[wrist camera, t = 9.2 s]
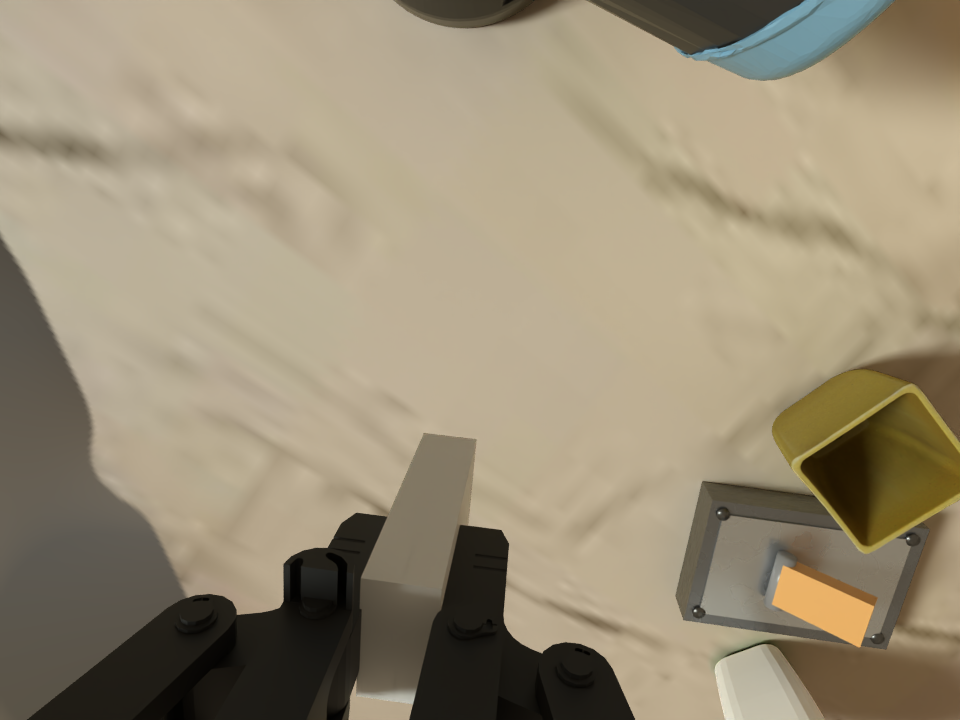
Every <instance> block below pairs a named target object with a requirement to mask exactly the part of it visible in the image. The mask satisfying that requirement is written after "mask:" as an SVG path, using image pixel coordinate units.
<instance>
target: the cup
mask: <svg viewBox="0 0 960 720" xmlns="http://www.w3.org/2000/svg"><path fill="white" fill-rule="evenodd" d="M715 674H716V680H717V685H718V691H719V695H720V700H721V704H722V709H723V713H724V717H725V720H825V718H824V716H823V715H822V713H821V711H820V710H819V708H818V706H817V705H816V703H815V701H814V699H813V698H812V696H811V695H810V693H809V692H808V690H807V689H806V687H805V686H804V684H803V683H802V681H801V680H800V678H799V677H798V675H797V674H796V672H795V671H794V669H793V668H792V666H791V665H790V664H789V662H788V661H787V659H786V658H785V657H784V655H783V654H782V653H781V651H780V650H779V649H778V648H777V647H775V646H773V645H769V644H763V645H758V646H755V647H752V648H750V649H747V650H744V651H741V652H739V653H736V654H733V655H730V656H728V657H725V658H723V659H721V660H720V661H719V662H718V663H717V664H716V667H715Z"/></svg>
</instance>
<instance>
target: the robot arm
mask: <svg viewBox="0 0 960 720" xmlns="http://www.w3.org/2000/svg"><path fill="white" fill-rule="evenodd" d="M394 1H395V2H396V3H398V4H399V5H400V6H401V7H403V8H404V9H405V10H407V11H408V12H410V13H412V14H413V15H415V16H417V17H419V18H421V19H423V20H426V21H428V22H431V23H434V24H438V25H442V26H447V27H454V28H473V27H480V26H485V25H489V24H493V23H496V22H499V21H502V20H504V19H506V18H508V17H510V16H512V15H514V14H516V13H518V12H519V11H521V10H522V9H524V8H525V7H527V6H528V5H529V4H531V3H532V2H533V1H534V0H394ZM587 1H589V2H591V3H593V4H594V5H596V6H598V7H600V8H602V9H604V10H606V11H608V12H610V13H612V14H613V15H615V16H617V17H619V18H621V19H623V20H625V21H627V22H629V23H631V24H633V25H634V26H636V27H638V28H640V29H642V30H644V31H646V32H648V33H650V34H652V35H653V36H655V37H657V38H659V39H661V40H663V41H665V42H667V43H669V44H671V45H672V46H674V48H675V49H676V50H677V52H679V53H680V54H681V55H683V56H685V57H686V58H689V57H691V58H692V59H694V60H699V61H708V62H710V63H712V64H715V65H717V66H719V67H721V68H723V69H726V70H728V71H730V72H732V73H735V74H737V75H739V76H741V77H743V78H747V79H752V80H761V81H766V80H777V79H781V78H784V77H788V76H791V75H793V74H796V73H798V72H801V71H803V70H805V69H807V68H809V67H811V66H813V65H815V64H816V63H818V62H820V61H821V60H823V59H824V58H826V57H828V56H829V55H831V54H832V53H833V52H835V51H836V50H838V49H839V48H840V47H842V46H843V45H844V44H846V43H847V42H848V41H850V40H851V39H852V38H853V37H855V36H856V35H857V34H858V33H860V32H861V31H862V30H863V29H865V28H866V27H867V26H868V25H869V24H870V23H871V22H873V21H874V20H875V19H876V18H877V17H878V16H879V15H880V14H882V13H883V12H884V11H885V10H886V9H887V8H888V7H889V6H890V5H891V4H892V3H893V2H894V1H895V0H587ZM475 449H476V439H469V438H461V437H452V436H444V435H436V434H428V433H424V435H423V437H422V439H421V441H420V444H419V446H418V448H417V451H416V453H415V455H414V457H413V460H412V462H411V464H410V467H409V469H408V471H407V473H406V476H405V478H404V480H403V483H402V485H401V487H400V489H399V492H398V494H397V496H396V499H395V501H394V503H393V505H392V508H391V510H390V512H389V515H388V517H385V516H377V515H370V514H362V513H355V514H354V515H352V516H351V517H350V518H348V519H347V520H345V521H344V522H343V523H341V525H340V527H339V528H338V530H337V532H336V534H335V536H334V539H332V541H331V543H330V545H329V546H328V548H313V549H309V550H304V551H301V552H299V553H297V554H295V555H293V556H291V557H290V558H289V559H288V560H287V561H286V562H285V563H284V602H283V603H282V605H281V607H280V608H278V609H275V610H273V611H268V612H262V613H253V614H243V615H237V612H236V608H235V606H234V604H233V602H232V601H230V600H228V599H227V598H225V597H223V596H218V595H212V594H206V595H195V596H192V597H189V598H186V599H183V600H180V601H178V602H177V603H175V604H173V605H172V606H170V607H168V608H167V609H166V610H164V611H163V612H162V613H161V614H159V615H158V616H157V617H156V618H154V619H153V620H152V621H151V622H149V623H148V624H147V625H146V626H144V627H143V628H142V629H141V630H139V631H138V632H137V633H135V634H134V635H133V636H132V637H130V638H129V639H128V640H127V641H125V642H124V643H123V644H122V645H120V646H119V647H118V648H117V649H115V650H114V651H113V652H112V653H110V654H109V655H108V656H107V657H106V658H104V659H103V660H102V661H100V662H99V663H98V664H97V665H95V666H94V667H93V668H91V669H90V670H89V671H88V672H87V673H85V674H84V675H83V676H82V677H80V678H79V679H78V680H76V681H75V682H74V683H73V684H71V685H70V686H69V687H68V688H66V689H65V690H64V691H62V692H61V693H60V694H59V695H57V696H56V697H55V698H54V699H52V700H51V701H50V702H49V703H48V704H46V705H45V706H44V707H42V708H41V709H40V710H39V711H37V712H36V713H35V714H34V715H32V716H31V717H30V718H29V719H27V720H348V718H349V709H350V695H351V692H352V689H353V687H354V684H355V681H356V678H357V687H356V696H361V697H367V698H374V699H381V700H388V701H394V702H401V703H408V704H413V707H412V711H411V715H410V719H409V720H635V718H634V716H633V714H632V711H631V709H630V707H629V705H628V702H627V700H626V698H625V696H624V693H623V691H622V689H621V687H620V685H619V682H618V680H617V678H616V676H615V673H614V671H613V669H612V667H611V666H610V665H609V663H608V662H607V660H606V659H605V658H604V657H603V656H602V655H600V654H599V653H598V652H596V651H595V650H594V649H591V648H589V647H586V646H584V645H581V644H576V643H567V642H565V643H560V644H555V645H552V646H551V647H549V648H548V649H546V650H545V651H543V653H539V652H537V651H534V650H532V649H530V648H528V647H526V646H524V645H522V644H521V643H519V642H518V641H517V640H516V639H514V638H513V637H512V635H511V634H510V633H509V632H508V631H507V628H506V626H505V624H504V617H503V613H504V600H505V588H506V575H507V562H508V550H509V543H508V541H507V539H506V538H505V536H504V534H503V532H502V530H497V529H489V528H481V527H474V526H468V521H469V511H470V500H471V490H472V480H473V469H474V459H475Z"/></svg>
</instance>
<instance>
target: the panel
mask: <svg viewBox="0 0 960 720" xmlns="http://www.w3.org/2000/svg"><path fill="white" fill-rule="evenodd" d="M929 530H930V529H929V528H928V527H927V526H925V525H924V524H923V523H922V522H921V523H920V524H918V525H916V526H915V527H913V528H911V529H909V530H908V531H906V532H905V533H903V534H901V535H900V536H898V537H897V538H895V539H893V540H892V541H890V542H888V543H887V544H885V545H883V546H882V547H880V548H879V549H877V550H875V551H873V552H871V553H869V554H863V553H862V552H860V551H859V550H858V549H857V548H856V546H855V545H854V544H853V542H852V541H851V540H850V538H849V537H848V536H847V534H846V533H845V532H844V531H843V530H842V528H841V527H840V526H839V524H838V523H837V522H836V521H835V519H834V518H833V517H832V516H831V514H830V513H829V512H828V511H827V509H826V508H825V507H824V506H823V505H822V503H821V502H820V501H819V500H818V499H817V497H815V496H808V495H800V494H793V493H785V492H778V491H770V490H762V489H755V488H747V487H740V486H732V485H725V484H717V483H710V482H702V485H701V489H700V493H699V498H698V502H697V506H696V511H695V515H694V519H693V523H692V528H691V532H690V536H689V541H688V545H687V549H686V553H685V558H684V562H683V566H682V571H681V575H680V579H679V583H678V588H677V592H676V599H677V602H678V605H679V608H680V611H681V614H682V617H683V620H686V621H693V622H700V623H707V624H714V625H721V626H727V627H734V628H741V629H748V630H755V631H762V632H769V633H776V634H783V635H789V636H796V637H803V638H810V639H817V640H824V641H831V642H838V643H845V644H851V643H849V642H847V641H845V640H843V639H841V638H839V637H837V636H835V635H833V634H831V633H829V632H827V631H825V630H823V629H821V628H819V627H817V626H815V625H813V624H811V623H808V622H806V621H804V620H802V619H800V618H798V617H796V616H794V615H792V614H790V613H788V612H786V611H784V610H782V611H773V610H771V609H769V608H767V607H766V606H765V605H764V603H763V601H764V598H765V594H766V591H767V587H768V584H769V580H770V577H771V573H772V570H773V566H774V563H775V559H776V556H777V552H779V551H786V552H789V553H791V554H793V555H795V556H796V557H797V562H799V563H801V564H803V565H806V566H808V567H810V568H812V569H815V570H817V571H819V572H821V573H824V574H826V575H828V576H830V577H833V578H835V579H837V580H840V581H842V582H844V583H846V584H849V585H851V586H853V587H855V588H858V589H860V590H862V591H864V592H867V593H869V594H871V595H873V596H876V597H878V599H877V602H876V605H875V608H874V610H873V613H872V616H871V619H870V622H869V625H868V628H867V631H866V633H865V636H864V639H863V641H862V644H861V646H865V647H872V648H879V649H886V648H887V646H888V643H889V640H890V638H891V635H892V632H893V629H894V627H895V624H896V621H897V618H898V616H899V613H900V610H901V607H902V605H903V602H904V599H905V596H906V594H907V591H908V588H909V585H910V583H911V580H912V577H913V574H914V572H915V569H916V566H917V563H918V561H919V558H920V555H921V552H922V550H923V547H924V544H925V541H926V539H927V536H928V533H929ZM851 645H853V644H851Z"/></svg>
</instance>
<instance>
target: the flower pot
mask: <svg viewBox="0 0 960 720" xmlns="http://www.w3.org/2000/svg"><path fill="white" fill-rule="evenodd" d="M772 434H773V437H774V440H775V442H776V444H777V445H778V447H779V449H780V450H781V452H782V454H783V455H784V457H785V458H786V460H787V462H788V463H789V465H790V466H791V468H792V470H793V471H794V472H795V473H796V475H797V476H798V477H799V478H800V479H801V480H802V482H803V483H804V484H805V485H806V486H807V487H808V488H809V489H810V490H811V492H812V493H813V494H814V495H815V496H816V497H817V499H818V500H819V501H820V502H821V503H822V505H823V506H824V507H825V508H826V509H827V511H828V512H829V513H830V514H831V516H832V517H833V518H834V519H835V521H836V522H837V523H838V524H839V526H840V527H841V528H842V530H843V531H844V532H845V533H846V534H847V536H848V537H849V538H850V540H851V541H852V542H853V544H854V545H855V546H856V548H857V549H858V550H859V551H860V552H862V553H863V554H869V553H871V552H873V551H875V550H877V549H879V548H880V547H882V546H883V545H885V544H887V543H888V542H890V541H892V540H893V539H895V538H897V537H898V536H900V535H901V534H903V533H905V532H906V531H908V530H909V529H911V528H913V527H915V526H916V525H918V524H920V523H921V522H923V521H924V520H926V519H928V518H929V517H931V516H933V515H935V514H936V513H938V512H940V511H941V510H943V509H944V508H946V507H948V506H949V505H951V504H953V503H955V502H957V501H959V500H960V442H959V440H958V439H957V437H956V436H955V435H954V433H953V432H952V431H951V430H950V428H949V427H948V426H947V424H946V423H945V422H944V420H943V419H942V418H941V416H940V415H939V413H938V412H937V411H936V409H935V408H934V407H933V405H932V404H931V402H930V401H929V400H928V398H927V397H926V396H925V394H924V393H923V392H922V391H921V389H920V388H919V387H918V386H917V385H916V384H913V383H910V382H908V381H905V380H902V379H899V378H896V377H893V376H890V375H887V374H884V373H880V372H877V371H873V370H868V369H857V370H851V371H848V372H844V373H842V374H840V375H837V376H835V377H833V378H831V379H830V380H828V381H827V382H825V383H824V384H822V385H821V386H820V387H818V388H817V389H815V390H814V391H812V392H811V393H810V394H808V395H807V396H805V397H804V398H802V399H801V400H799V401H798V402H796V403H795V404H793V405H792V406H790V407H789V408H787V409H786V410H784V411H783V412H782V413H781V414H780V415H779V416H778V417H777V418H776V420H775V421H774V423H773V426H772Z"/></svg>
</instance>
